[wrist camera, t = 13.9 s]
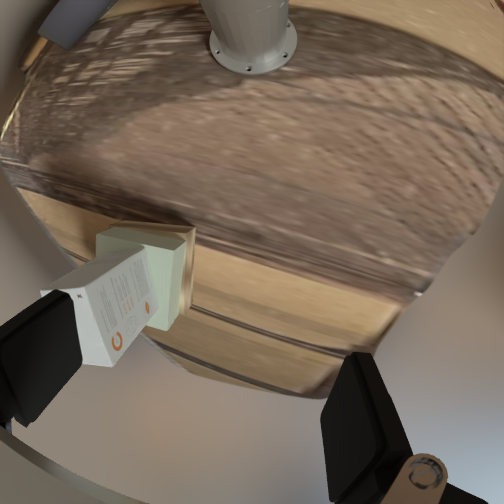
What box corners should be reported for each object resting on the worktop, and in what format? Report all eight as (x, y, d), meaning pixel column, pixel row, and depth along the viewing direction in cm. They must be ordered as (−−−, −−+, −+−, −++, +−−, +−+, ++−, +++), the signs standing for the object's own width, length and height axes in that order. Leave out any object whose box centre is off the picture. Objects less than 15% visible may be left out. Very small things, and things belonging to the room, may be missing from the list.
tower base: (124, 219, 43) (108, 225, 38) (196, 226, 42) (186, 233, 37) (126, 289, 46) (112, 301, 41) (193, 301, 45) (184, 315, 41)
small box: (103, 252, 34) (37, 288, 21) (146, 246, 33) (84, 285, 20) (119, 310, 36) (66, 363, 23) (160, 308, 35) (114, 368, 22)
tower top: (115, 226, 38) (96, 233, 33) (186, 241, 38) (173, 250, 33) (113, 296, 41) (96, 309, 36) (178, 314, 41) (167, 331, 36)
